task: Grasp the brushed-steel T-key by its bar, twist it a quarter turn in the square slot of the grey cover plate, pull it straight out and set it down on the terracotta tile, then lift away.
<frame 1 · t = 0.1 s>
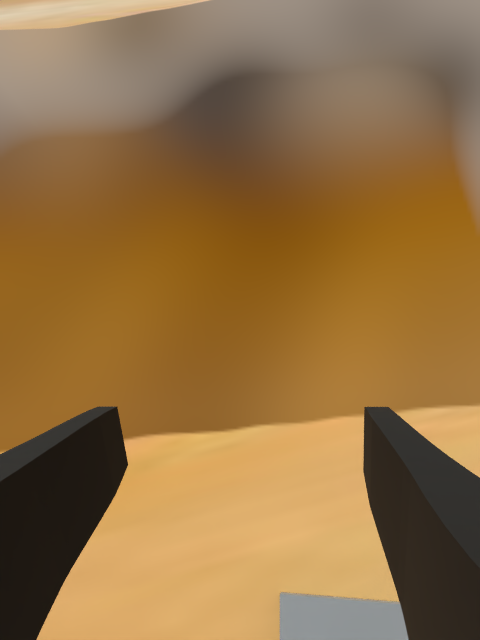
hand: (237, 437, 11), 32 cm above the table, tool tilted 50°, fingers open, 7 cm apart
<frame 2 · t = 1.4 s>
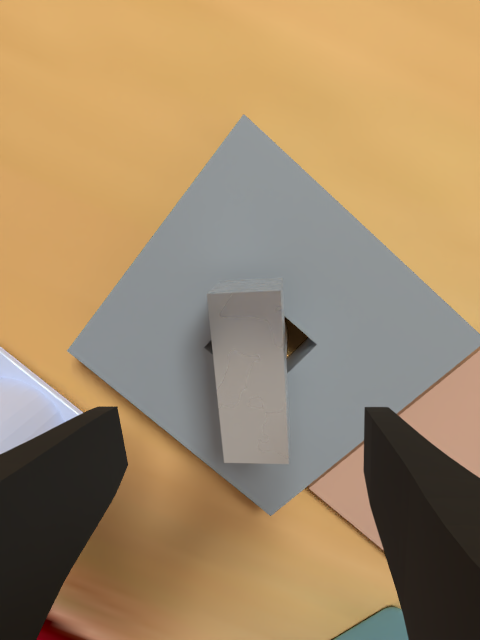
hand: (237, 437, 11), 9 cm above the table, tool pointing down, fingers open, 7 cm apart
cover plate: (262, 332, 20), on the table
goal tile: (439, 463, 21), on the table
t key: (257, 353, 17), in the cover plate
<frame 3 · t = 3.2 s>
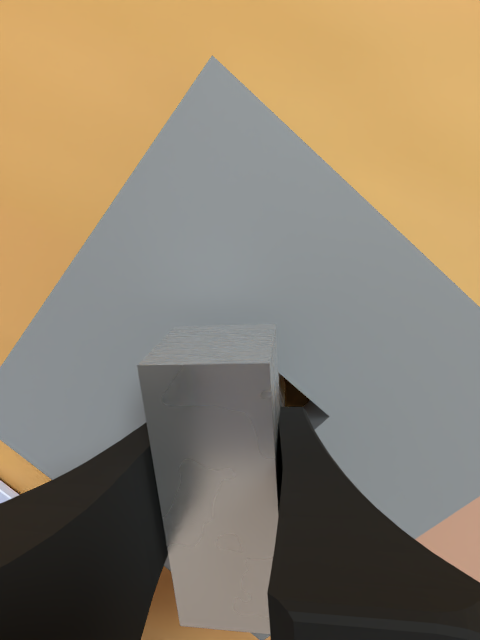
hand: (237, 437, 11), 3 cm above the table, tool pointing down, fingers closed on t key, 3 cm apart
cover plate: (249, 387, 14), on the table
t key: (238, 434, 11), in the cover plate, touching gripper
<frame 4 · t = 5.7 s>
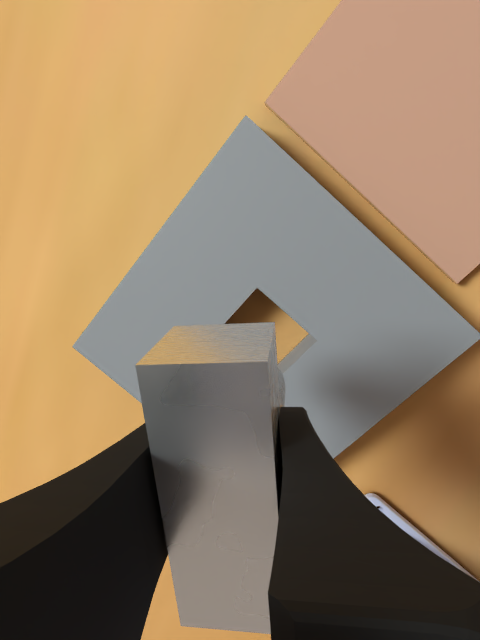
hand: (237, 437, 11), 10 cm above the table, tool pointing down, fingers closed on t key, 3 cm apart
cover plate: (263, 329, 20), on the table
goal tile: (430, 122, 16), on the table
t key: (238, 433, 11), point 10 cm above the table, touching gripper
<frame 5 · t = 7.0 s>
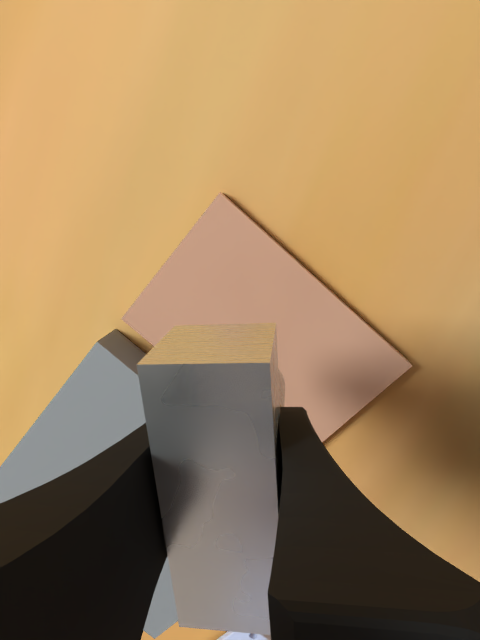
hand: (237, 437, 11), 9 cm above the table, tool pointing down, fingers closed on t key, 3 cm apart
cover plate: (143, 484, 23), on the table
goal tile: (262, 337, 19), on the table
t key: (237, 433, 11), point 9 cm above the table, touching gripper
when the fingers open (5 cm above the table, at t = 8.3 s): t key drops 1 cm, resting on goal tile.
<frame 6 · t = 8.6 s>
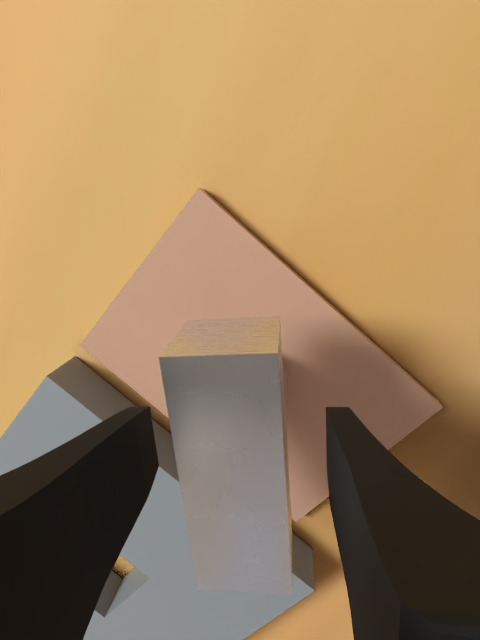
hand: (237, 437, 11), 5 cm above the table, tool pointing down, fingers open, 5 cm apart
cover plate: (114, 537, 19), on the table
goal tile: (254, 368, 15), on the table
t key: (245, 418, 12), on the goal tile, point 4 cm above the table
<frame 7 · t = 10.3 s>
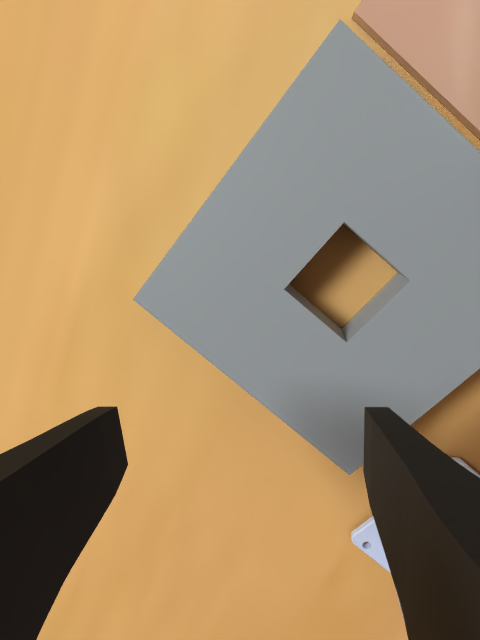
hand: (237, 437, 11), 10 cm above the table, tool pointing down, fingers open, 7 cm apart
cover plate: (340, 276, 19), on the table
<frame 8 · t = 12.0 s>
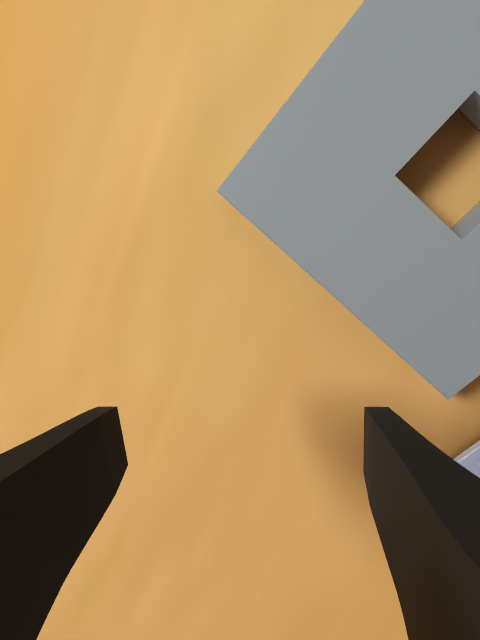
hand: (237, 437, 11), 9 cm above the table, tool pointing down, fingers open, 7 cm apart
cover plate: (448, 172, 17), on the table
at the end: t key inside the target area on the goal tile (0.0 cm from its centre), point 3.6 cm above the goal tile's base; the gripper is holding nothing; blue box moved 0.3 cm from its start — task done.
